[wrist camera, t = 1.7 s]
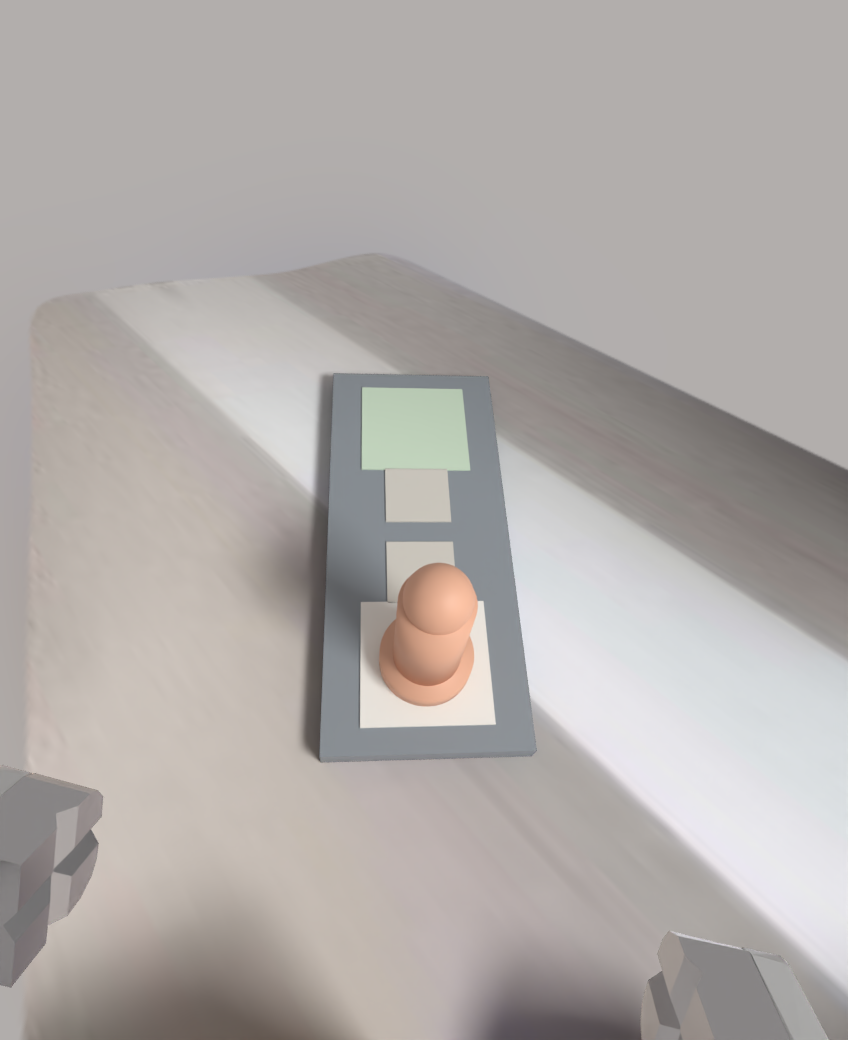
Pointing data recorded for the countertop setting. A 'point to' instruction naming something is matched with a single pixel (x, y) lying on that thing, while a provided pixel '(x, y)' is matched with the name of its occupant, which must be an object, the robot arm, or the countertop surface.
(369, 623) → the board
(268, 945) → the countertop surface
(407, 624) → the pawn
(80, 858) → the robot arm
